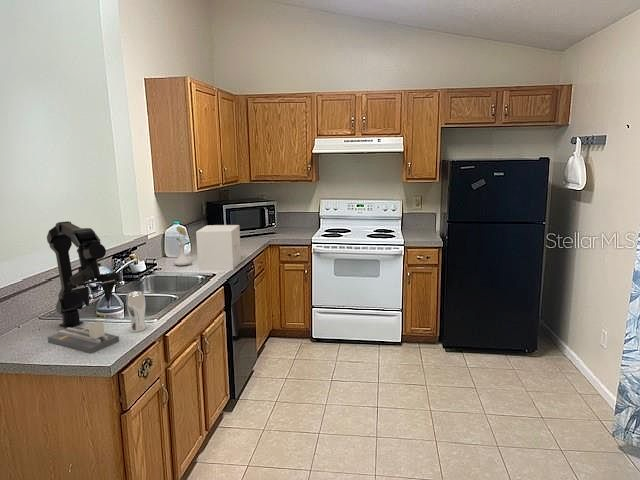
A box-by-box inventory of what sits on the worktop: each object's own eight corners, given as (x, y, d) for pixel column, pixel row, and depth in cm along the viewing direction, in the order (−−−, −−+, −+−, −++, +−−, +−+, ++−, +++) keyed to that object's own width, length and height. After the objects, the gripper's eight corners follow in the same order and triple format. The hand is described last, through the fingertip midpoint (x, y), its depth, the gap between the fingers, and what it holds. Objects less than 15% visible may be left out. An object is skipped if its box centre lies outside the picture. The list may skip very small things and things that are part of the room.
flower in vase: (194, 265, 292) (192, 226, 287) (177, 267, 286) (174, 228, 281) (188, 261, 303) (185, 224, 298) (170, 263, 296) (168, 225, 292)
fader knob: (90, 340, 168) (88, 324, 167) (99, 336, 172) (97, 321, 171) (95, 341, 167) (93, 326, 166) (105, 337, 170) (103, 322, 169)
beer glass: (149, 325, 189) (146, 290, 186) (144, 332, 182) (141, 296, 179) (132, 326, 189) (129, 291, 186) (126, 332, 182) (123, 296, 179)
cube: (233, 270, 279) (231, 231, 274) (198, 271, 279) (196, 231, 275) (240, 261, 303) (239, 225, 299) (209, 261, 304) (206, 225, 299)
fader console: (48, 342, 173) (47, 334, 173) (77, 331, 184) (76, 323, 183) (91, 353, 163) (90, 345, 162) (119, 341, 173) (118, 333, 173)
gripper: (51, 269, 163) (60, 312, 163) (93, 259, 158) (103, 303, 159) (74, 266, 174) (83, 306, 174) (115, 256, 169) (124, 297, 169)
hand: (97, 303), depth 169 cm, fingers open, 9 cm apart
